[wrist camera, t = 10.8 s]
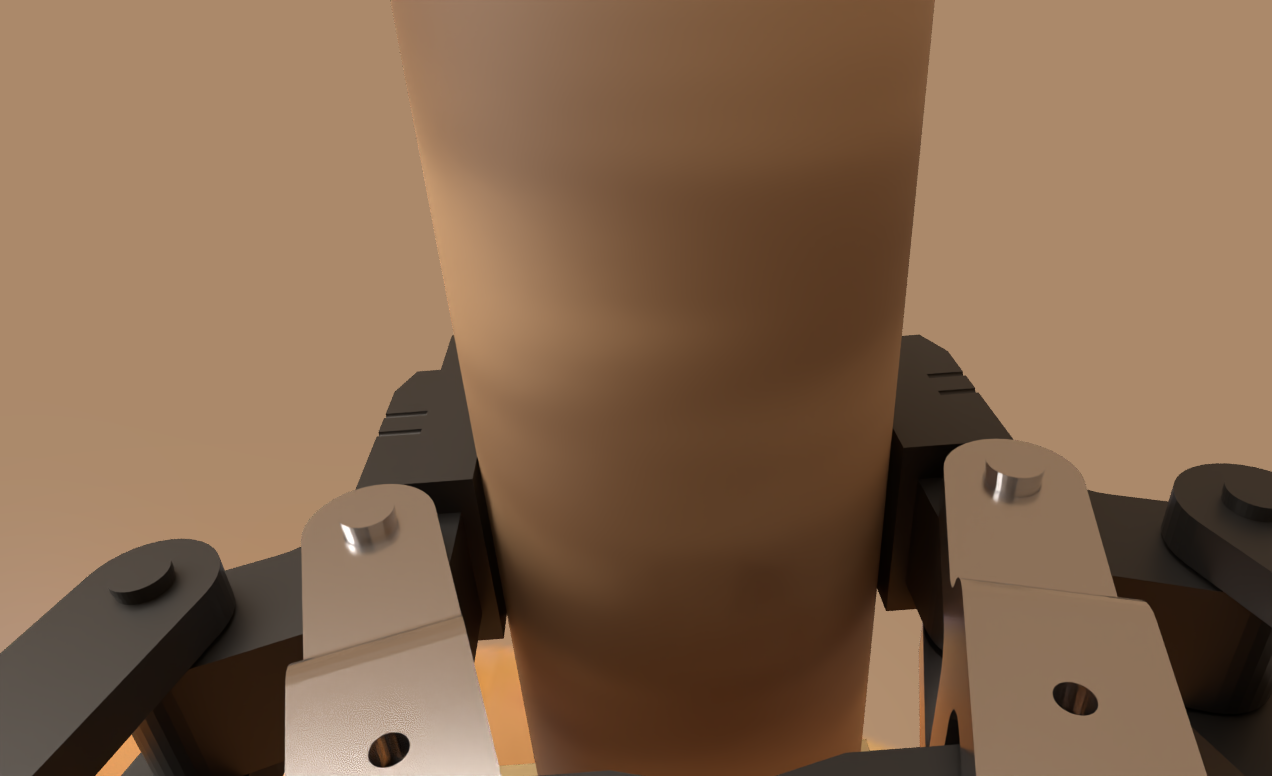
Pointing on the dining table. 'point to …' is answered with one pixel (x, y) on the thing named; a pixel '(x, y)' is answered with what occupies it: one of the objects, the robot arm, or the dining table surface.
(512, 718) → the dining table surface
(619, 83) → the rod
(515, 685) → the dining table surface
